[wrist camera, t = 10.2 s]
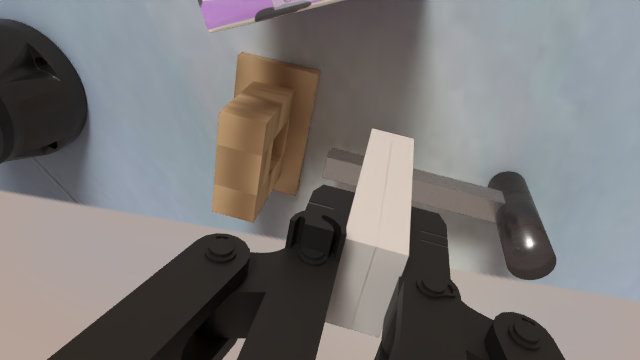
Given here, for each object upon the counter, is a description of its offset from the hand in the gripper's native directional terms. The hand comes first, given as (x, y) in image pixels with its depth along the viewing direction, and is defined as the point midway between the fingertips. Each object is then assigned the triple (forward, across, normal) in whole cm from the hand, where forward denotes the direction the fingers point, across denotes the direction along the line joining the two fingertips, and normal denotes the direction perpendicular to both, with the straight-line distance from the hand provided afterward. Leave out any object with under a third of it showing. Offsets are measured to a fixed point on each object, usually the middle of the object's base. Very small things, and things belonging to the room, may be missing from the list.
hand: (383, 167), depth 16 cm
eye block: (+28, -11, -13) cm, 33 cm away
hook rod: (+28, +6, -13) cm, 32 cm away
